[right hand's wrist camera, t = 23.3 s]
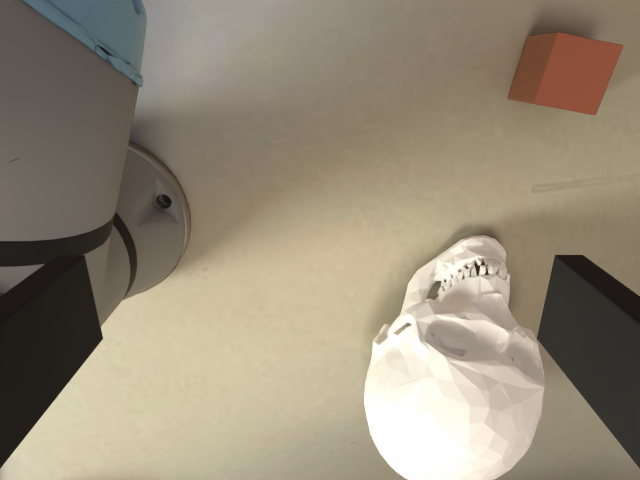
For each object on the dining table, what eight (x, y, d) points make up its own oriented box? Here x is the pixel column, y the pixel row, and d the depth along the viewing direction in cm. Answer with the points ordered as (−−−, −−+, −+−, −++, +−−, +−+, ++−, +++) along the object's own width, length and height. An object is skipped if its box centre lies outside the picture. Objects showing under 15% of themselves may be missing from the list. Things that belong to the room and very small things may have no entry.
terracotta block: (562, 109, 38) (595, 115, 34) (507, 98, 38) (533, 103, 33) (584, 47, 36) (623, 45, 32) (527, 36, 36) (558, 32, 31)
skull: (541, 243, 43) (649, 336, 28) (457, 414, 51) (507, 556, 36) (410, 208, 42) (451, 284, 27) (346, 387, 50) (351, 522, 35)
